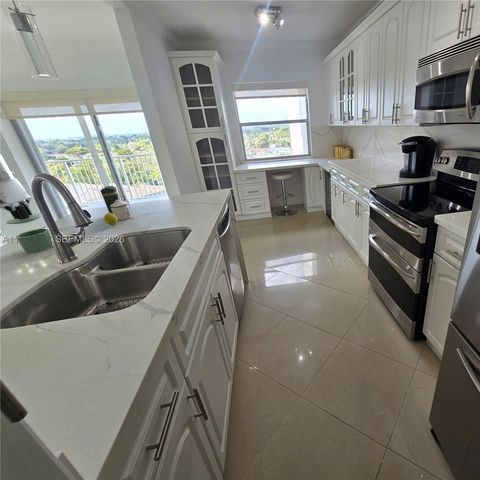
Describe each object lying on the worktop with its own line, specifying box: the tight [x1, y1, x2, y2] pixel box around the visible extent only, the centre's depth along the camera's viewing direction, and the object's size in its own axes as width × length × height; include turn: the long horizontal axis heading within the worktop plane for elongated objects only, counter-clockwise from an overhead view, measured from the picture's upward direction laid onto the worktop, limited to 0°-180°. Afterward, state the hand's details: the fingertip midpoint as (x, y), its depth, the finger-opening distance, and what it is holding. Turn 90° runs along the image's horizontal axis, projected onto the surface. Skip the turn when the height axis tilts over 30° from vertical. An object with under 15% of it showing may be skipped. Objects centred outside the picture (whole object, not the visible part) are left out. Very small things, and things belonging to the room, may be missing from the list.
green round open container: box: [15, 227, 54, 254], centre depth 123 cm, size 11×11×8 cm
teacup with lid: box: [110, 200, 133, 221], centre depth 159 cm, size 12×9×12 cm
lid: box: [6, 204, 43, 225], centre depth 117 cm, size 12×12×7 cm
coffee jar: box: [99, 185, 122, 214], centre depth 164 cm, size 10×8×19 cm
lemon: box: [103, 212, 118, 227], centre depth 147 cm, size 6×6×8 cm
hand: (23, 216), depth 118 cm, fingers closed on lid, 3 cm apart
